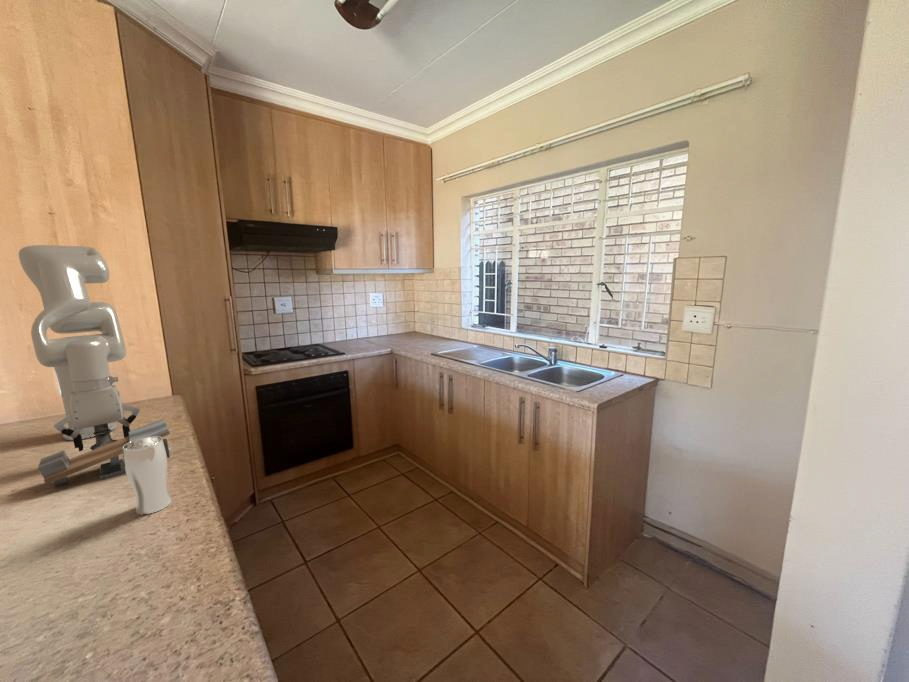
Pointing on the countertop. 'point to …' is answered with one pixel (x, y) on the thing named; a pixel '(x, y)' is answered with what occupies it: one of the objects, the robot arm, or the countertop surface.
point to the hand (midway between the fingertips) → (104, 443)
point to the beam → (94, 453)
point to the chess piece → (102, 436)
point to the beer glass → (147, 473)
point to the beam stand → (109, 468)
